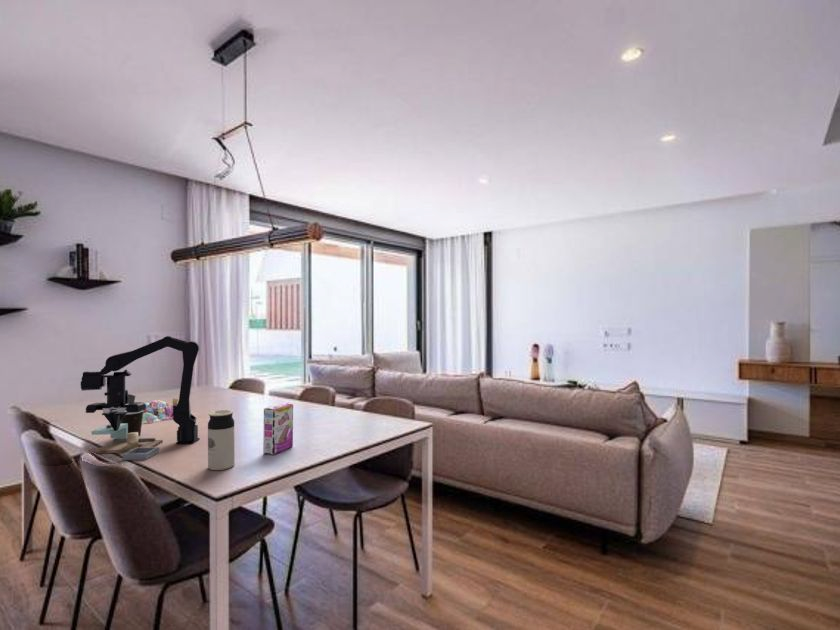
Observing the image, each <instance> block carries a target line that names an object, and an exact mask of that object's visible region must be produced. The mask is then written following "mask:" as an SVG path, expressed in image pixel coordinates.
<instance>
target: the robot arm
mask: <svg viewBox="0 0 840 630" xmlns="http://www.w3.org/2000/svg"><path fill="white" fill-rule="evenodd" d="M167 347H168V348H171V349H173V350H176V351H179V352H182V363H183V366H182V373H181V382H180V388H179V389H180V390H179V397H178V401H177V403H174V405H173V413H172V416H173V419H172V420H173V422H174V423H175V424H177V425H178V427H177V430H176V442H175V444H176V445H177V444H178V445H181V444H182V445H183V444H184V445H189V444H195V443H196V442H197V441H199V440H200V437H199V429H198V428H199V425H198V424H196V423H197V417H196V416H194V415H193V414H192V412H191V399H190V397H191V391H192V381H193V373H194V368H195V362H196V361H197V356H198V353H199V351H200V345H199V343H198V342H196V341H194V340H189V341H187V340H183V339H180V338H176V337H173V336H170V335H167V336H164V337H163V338H161V339H158V340H156V341H153V342H151V343H148V344H146V345H143V346H141V347H138V348H136V349H133V350H130V351H126V352H125V351H124V352H121V353H117V354H113V355H111V356H109V357H107V359H106V360H105V362H104V363H105V365H104V366H103V368H102V369H100V371H83V372H82V376H81V379H80V380H81V381H80V390H81V391H83V392H84V391H98V390H103V389H102V388H103V387H106V392H104V395H103V396H106V402H94V403H90V404H87V405H86V407H85V414H86V413H87V414H94V413H96V412H97V411H102V413H101V416H104V417H105V419H106V420H107V421H108V423H109V425H110V424H111V426H112V428H113V429H114V431H117V430H118V429H119V427H120V424H121V422H122V419H123V417H124V416H125V414H126V413H128V412H139V411H142V410H145V409H146V405H145V404H146V403H145V401H143V402H142V401H135V400H136V395H134V394H130V393H129V391H128V389H126V377H130V376H132V373H131V372H130V371H128V369H127V368H126V369H124V368H125V367H126V366H128V365H130V364H132V363H133V362H135V361H137V360H139V359H142V358H143V357H146V356H148V355H150V354H151V355H152V354H153V353H155V352H158V351H161V350H163V349H165V348H167ZM122 369H124V371H120V370H122ZM111 372H113V373H112V374H109V373H111ZM127 404H128V405H127Z"/></svg>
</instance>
